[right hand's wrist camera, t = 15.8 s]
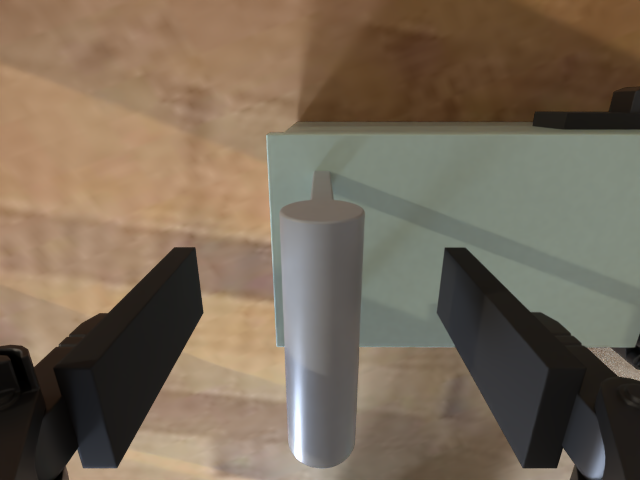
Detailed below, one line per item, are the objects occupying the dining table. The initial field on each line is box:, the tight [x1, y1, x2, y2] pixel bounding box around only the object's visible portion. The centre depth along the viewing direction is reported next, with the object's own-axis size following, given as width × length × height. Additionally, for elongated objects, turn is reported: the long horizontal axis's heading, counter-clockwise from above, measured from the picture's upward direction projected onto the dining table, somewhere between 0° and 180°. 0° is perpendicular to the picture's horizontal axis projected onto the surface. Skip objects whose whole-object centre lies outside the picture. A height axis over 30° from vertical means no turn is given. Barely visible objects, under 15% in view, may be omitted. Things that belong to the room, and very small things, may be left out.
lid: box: [266, 132, 640, 468], centre depth 13 cm, size 18×10×8 cm, turn 90°
